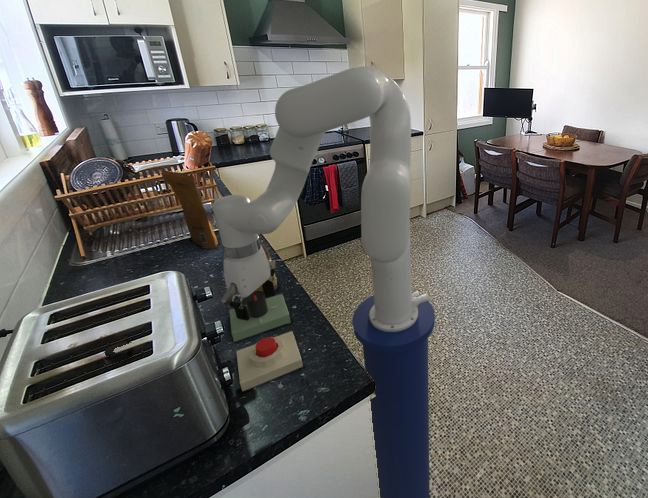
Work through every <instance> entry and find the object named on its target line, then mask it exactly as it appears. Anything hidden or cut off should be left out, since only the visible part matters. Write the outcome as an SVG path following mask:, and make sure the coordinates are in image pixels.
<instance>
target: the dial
mask: <svg viewBox="0 0 648 498" xmlns="http://www.w3.org/2000/svg"><path fill="white" fill-rule="evenodd" d="M266 299H267V298H266V295H265V294H264V292H262V291H254V292H253V293H251V294H250V295H249V296H247V297H246V301H245V305H247V308H248V312H249V315H250V317H252V318H258V317H261V316H263V315H265V314H266V313H267V312H268V307H267V303H266Z"/></svg>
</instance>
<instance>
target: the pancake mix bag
mask: <svg viewBox="0 0 648 498" xmlns="http://www.w3.org/2000/svg"><path fill="white" fill-rule="evenodd" d="M160 174H161V178H163V180H164V181H165V182H166V183H167V184H168V186H169V187H170V189H171V190H172V192H173V193H174V195H175V197H176V198H177V200H178V202H179V204H180V206H181V208H182V209H181V210H182V213H183V216H184V220H185V223H186V226H187V229H188V232H189V235H190V238H191V241H192V243H194V244H196V245H198V246H199V247H201V248H203V249H204V250H212V249H217V248H218V247H217V246H218V245H219V242H218V239H217V236H216V234H215V231H214V228H213V227H212V222H211V221H210V218H209V216H208V214H207V211H206V208H205V206H204V204H203V200H202V198H201V195H200V192H199V189H198V186H197V184H196V179H195V178H196V177H194V176H193V175H191V174H188V173H183V172H178V171H170V170H166V169H163V170H161V172H160Z"/></svg>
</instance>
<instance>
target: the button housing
mask: <svg viewBox="0 0 648 498" xmlns="http://www.w3.org/2000/svg"><path fill="white" fill-rule="evenodd" d="M271 337H272V338H274V339H275V341H276V345H277V349H276V351H275V352H274V353H273V354H271V355H270V356H267V357H260V356H258V355H257V351H256V344H257V343H258V342H256V343H255V344H252V345H249V346H247V347H243V348H241V349H238V350H236V351H235V353H236V361H237V368H238V369H237V371H238V378H239V385H240V389H241V392H245V391H247V390H250V389H253V388H255V387H257V386H260V385H262V384H264V383H267V382H269V381H271V380H274V379H276V378H279V377H281V376H283V375H286V374H288V373H291V372H294V371H295V370H296V371H297V370H299V369H300V368H303V367H304V363H303V360H302V356H301V354H300V350H299V347H298V344H297V341H296V338H295V335H294V332H293V331H292V330H291V331H288V332H285V333H283V334H279V335H277V336H271Z"/></svg>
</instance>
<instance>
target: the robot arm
mask: <svg viewBox="0 0 648 498" xmlns="http://www.w3.org/2000/svg"><path fill="white" fill-rule="evenodd" d="M274 117H275V121H276V123H277V124H278V129H277V131H276V133H275V136H274V139H273V141H272V144H271V145H270V149H269V155H270V158H271V159H272V160H273V161H274V162H275V163H274V170H273V172H272V175H271V178H270V180H269V183H268V186H267V188H266V189H265V191H264V192H263V193H261V194H260V195H259V196H258V197H257V198H255V199H253V200H250V198H249V197H248V196H246V195H245V194H244V195H243V194H228V195H225V196H222V197H219V198H217V199H215V201H214V202H213V203H212V212H213V215H214V220H215V223H216V227H217V230H218V234H219V237H220V239H221V240H220V241H221V243H222V248H223V251H224V255H225V258H223V261H222V263H223V265H222V266H223V267H222V268H223V278H224V283H225V287H226V292H225V293H224V295H223V297H222V298H221V300H220V302H221V303H222V304H223V305H224V306H226V307H228V308H232V309H235V313H236V316H237V318H238V319H241V320H246V321H248V320H249V319H250V317H249V313H248V309H247V306H244V305H246V297H247V296H249V295H250V294H251V293H253V292H254V291H255V290H256V289H257V288H259V287H260V286H261V285H262V288H263V292H264V294H265V296H270V297H273V296H276V290H275V289H274V285H273V281H274V277H273V276H274V273H275V274H276V269H275V268H276V263H277V262H276V260H272V259H271V260H270V261H268V260H267V257H266V254H265V252H264V250H263V248H262V246H261V245H260V241H259V237H261V236H260V235H269V234H271V233H272V234H273V232H275V231H276V230H277V229H279V227H280V226H281V225H282V224H283V222H284V221H285V220H286V218H287V217H288V216H289V215H290V214H291V213H292V211H293V210H294V209H295V206H296V204H297V202H298V200H299V198H300V195H301V193H302V191H303V189H304V187H305V184H306V181H307V179H308V175H309V173H310V169H311V166H312V164H313V161H314V159H315V157H316V155H317V152H318V150H319V148H320V145H321V143H322V141H323V139H324V136H325V134H326V132H330V131H331V130H335V129H338V128H340V127H344V126H346V125H349V124H353V123H356V122H358V121H361V120H364V119H367V118H368V117H369V123H370V124H369V125H370V126H369V127H370V129H369V147H370V148H369V166H368V169H367V172H366V175H365V176H364V179H363V182H362V185H361V194H360V203H361V204H360V212H361V213H360V220H361V221H360V223H361V225H360V228H361V229H360V230H361V231H360V233H361V234H360V235H361V237H360V238H361V245H362V248H363V250H364V253H366V255H367V256H368V257H369V259H370V267H371V268H370V269H371V279H372V290H373V295H374V305H373V307H372V308H371V310H370V313H369V318H370V322H371V324H372V325H373V326H374V327H375V328H377V329H379V330H381V331H385V332H398V331H402V330H405V329H407V328H409V327H410V326H412V325H413V324H414V323H415V322H416V320H417V318H418V308H417V306H418V305H419V304H420V303H424V302H426V301H429V299H430V298H429V295H428V294H427V293H424V294H422V295H421V294H420V292H419V291H418V290H417V291H412V264H411V263H412V262H411V261H412V260H411V259H412V258H411V257H412V255H411V217H410V216H411V196H412V194H411V193H412V174H411V173H412V172H411V155H412V154H411V153H412V117H411V110H410V105H409V103H408V100H407V98H406V96H405V93H404V92H403V90H402V88H401V87H400V86H399V84H397V82H396V81H395V80H394V79H392V78H391V77H390V76H389V75H387V74H386V73H384V72H383V71H381V70H379V69H377V68H375V67H372V66H367V65H366V66H365V65H363V66H357V67H351V68H347V69H345V70H342V71H339V72H336V73H334V74H331V75H329V76H325V77H324V78H321V79H318V80H316V81H313V82H310V83H306V84H303V85H301V86H298V87H294V88H291V89H288V90H286V91H284V93H282V94H281V95H280V96H279V97H278V100H277V101H276V104H275V108H274ZM412 292H414V293H412ZM420 295H421V296H420ZM418 296H420V297H418ZM416 297H417V298H416ZM239 298H240V299H239ZM238 300H239V302H238Z"/></svg>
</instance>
